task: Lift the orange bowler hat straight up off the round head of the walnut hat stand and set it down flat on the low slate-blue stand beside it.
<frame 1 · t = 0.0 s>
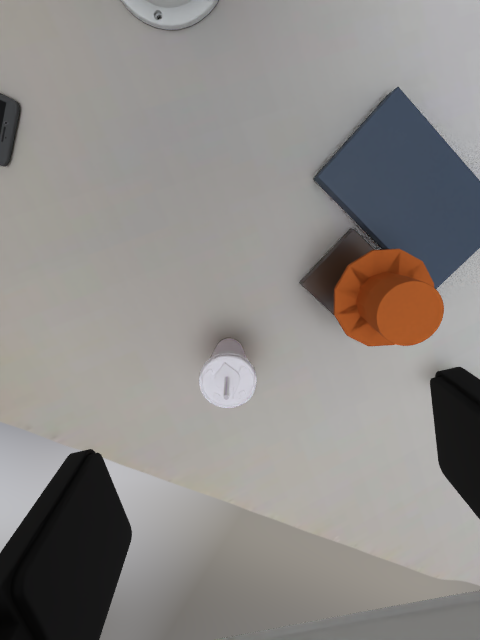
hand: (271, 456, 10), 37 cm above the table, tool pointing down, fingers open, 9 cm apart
hat stand: (348, 279, 46), on the table
smoothie: (229, 350, 49), on the table
hat: (382, 298, 36), point 11 cm above the table, touching hat stand
low stand: (406, 198, 44), on the table
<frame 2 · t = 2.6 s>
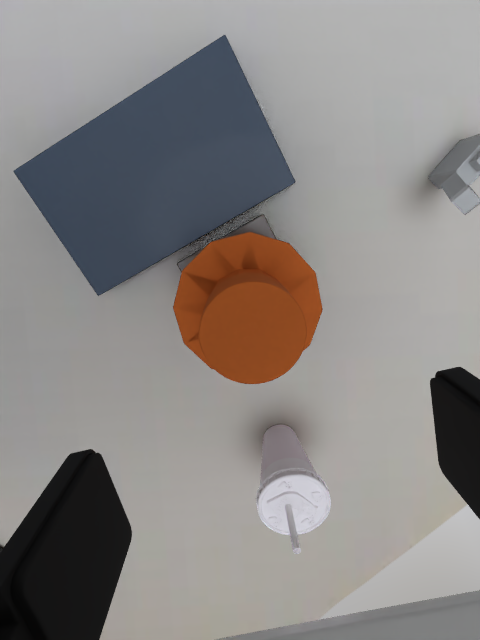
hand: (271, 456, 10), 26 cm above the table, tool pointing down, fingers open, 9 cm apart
hat stand: (242, 280, 35), on the table
smoothie: (279, 438, 40), on the table
hat: (247, 307, 24), point 11 cm above the table, touching hat stand
low stand: (161, 179, 32), on the table
lighter: (437, 178, 33), on the table
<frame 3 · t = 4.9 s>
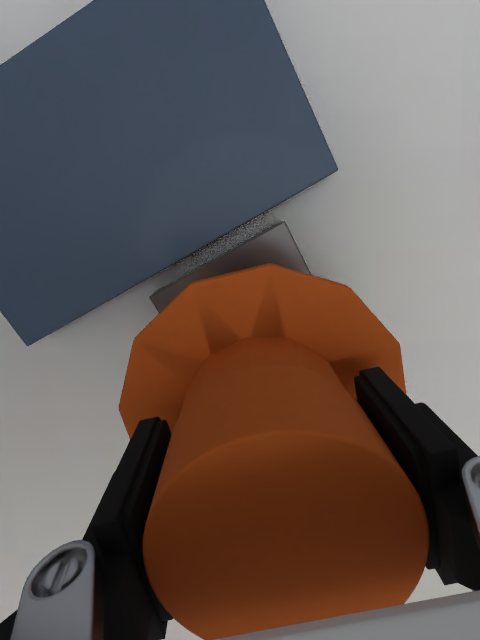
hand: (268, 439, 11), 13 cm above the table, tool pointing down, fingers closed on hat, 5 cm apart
hat stand: (250, 318, 23), on the table
hat: (263, 403, 13), point 11 cm above the table, touching gripper, hat stand
low stand: (125, 166, 21), on the table
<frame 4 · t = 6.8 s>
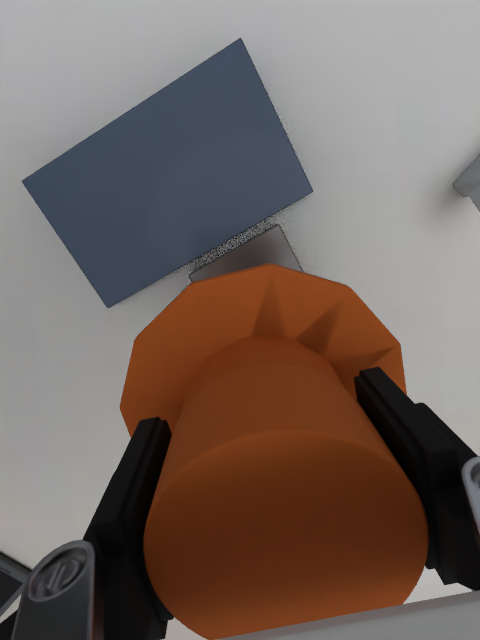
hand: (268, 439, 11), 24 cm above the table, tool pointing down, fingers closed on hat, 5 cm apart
hat stand: (256, 291, 34), on the table
hat: (264, 403, 13), point 22 cm above the table, touching gripper
low stand: (173, 188, 31), on the table
lighter: (462, 186, 31), on the table
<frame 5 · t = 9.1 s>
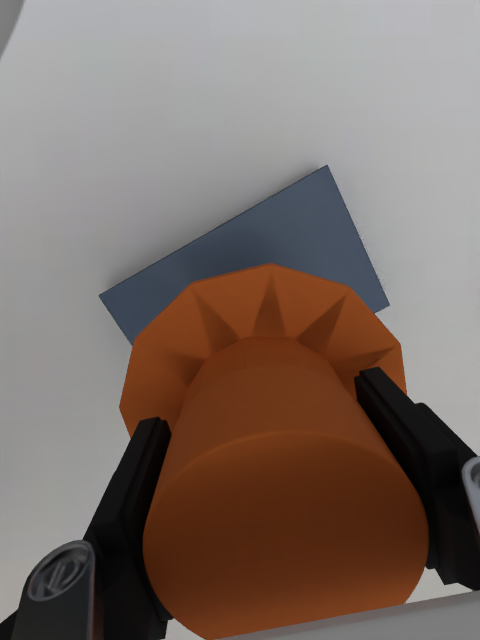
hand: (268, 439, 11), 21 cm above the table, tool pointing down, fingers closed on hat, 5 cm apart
hat: (264, 403, 13), point 19 cm above the table, touching gripper
low stand: (244, 294, 31), on the table
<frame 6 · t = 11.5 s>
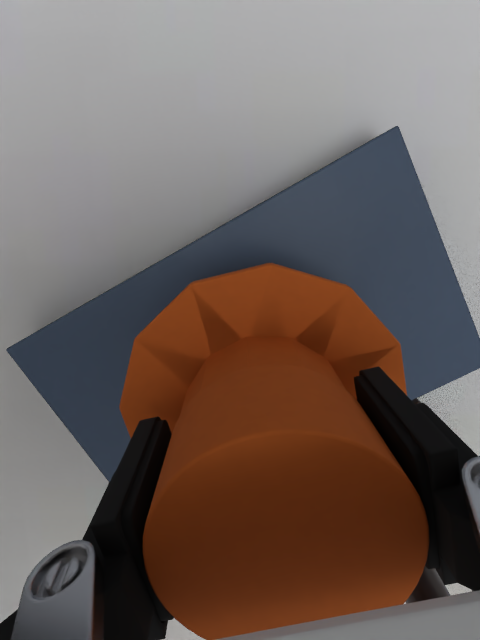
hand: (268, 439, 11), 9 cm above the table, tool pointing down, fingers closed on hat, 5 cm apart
hat stand: (366, 478, 22), on the table
hat: (263, 403, 13), point 7 cm above the table, touching gripper
low stand: (249, 340, 20), on the table
when the fingers open (5 cm above the table, at t = 13.2 s): hat stays where it is, resting on low stand.
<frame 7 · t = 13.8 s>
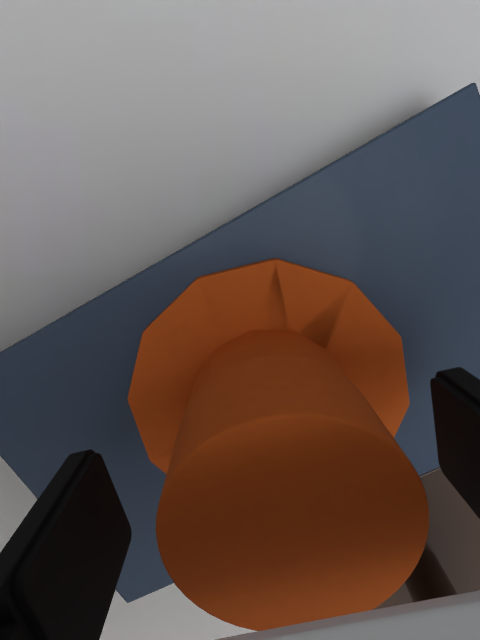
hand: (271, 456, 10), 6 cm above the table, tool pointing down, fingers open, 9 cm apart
hat stand: (403, 536, 18), on the table
hat: (268, 395, 13), point 2 cm above the table, touching low stand
low stand: (260, 369, 16), on the table
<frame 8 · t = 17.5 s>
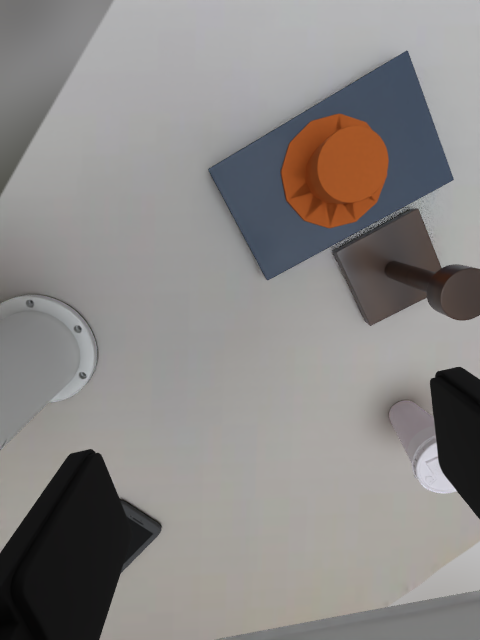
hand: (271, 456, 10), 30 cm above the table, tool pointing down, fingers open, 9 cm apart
cell phone: (111, 542, 49), on the table
hat stand: (387, 267, 39), on the table
smoothie: (403, 413, 44), on the table
hat: (333, 173, 34), point 2 cm above the table, touching low stand
low stand: (325, 177, 36), on the table
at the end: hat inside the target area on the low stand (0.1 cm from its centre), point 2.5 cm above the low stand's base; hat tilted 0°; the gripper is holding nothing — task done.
